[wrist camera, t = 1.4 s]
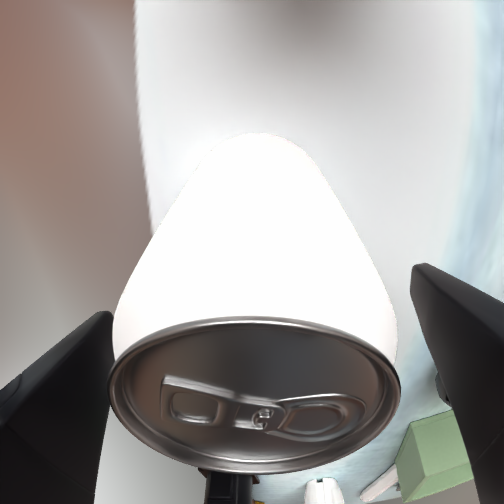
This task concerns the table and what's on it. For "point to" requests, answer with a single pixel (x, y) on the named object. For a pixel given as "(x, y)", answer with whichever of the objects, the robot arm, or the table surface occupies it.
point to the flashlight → (323, 492)
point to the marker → (380, 484)
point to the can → (255, 321)
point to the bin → (432, 457)
